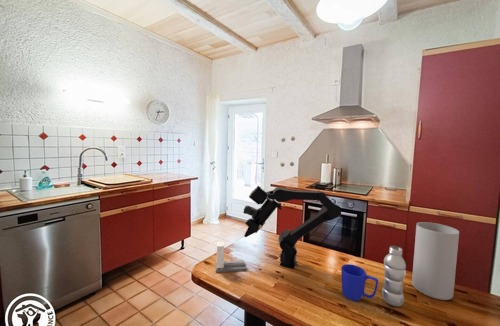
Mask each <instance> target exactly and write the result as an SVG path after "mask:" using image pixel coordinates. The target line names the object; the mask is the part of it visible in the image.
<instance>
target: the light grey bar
mask: <svg viewBox="0 0 500 326" xmlns="http://www.w3.org/2000/svg"><path fill="white" fill-rule="evenodd" d="M244 263H245V261H244V260H226V261H225V260H224V267H230V266H244Z"/></svg>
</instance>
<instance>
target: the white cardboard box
mask: <svg viewBox="0 0 500 326" xmlns="http://www.w3.org/2000/svg"><path fill="white" fill-rule="evenodd" d="M224 261H225V242H224V241H217V242H216V263H217V268H224Z"/></svg>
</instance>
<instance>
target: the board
mask: <svg viewBox="0 0 500 326" xmlns="http://www.w3.org/2000/svg"><path fill="white" fill-rule="evenodd" d="M246 270H247V267H246V263H245V262H244V266H230V267H224V268H217V262H215V273H227V272H239V271H241V272H242V271H246Z"/></svg>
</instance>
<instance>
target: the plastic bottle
mask: <svg viewBox="0 0 500 326" xmlns="http://www.w3.org/2000/svg"><path fill="white" fill-rule="evenodd" d="M388 249H389V250H388V252H389V253H388V254H386V255H385V257H384V259H383V267H384V279H383V286H382V288H381V297H382V299H383V300H384V302H385V303H386V304H388V305H391V306H393V307H402V305H404V303H405V296H404V287H403V286H404V285H403V283H404V278H405V277H404V273H405V270H406V269H407V264H406V261H405V259H404V258H403V248H402V247H400V246H397V245H390V246H389V248H388ZM403 277H404V278H403Z"/></svg>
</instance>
